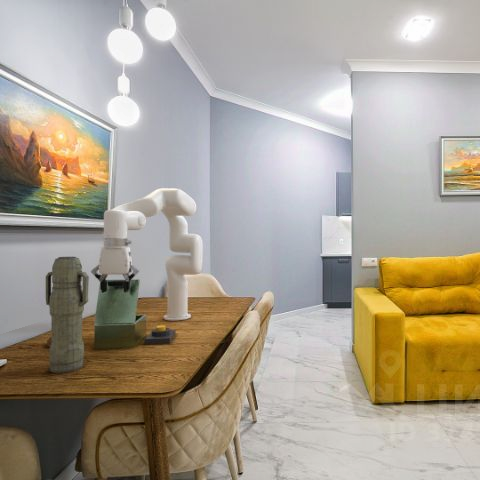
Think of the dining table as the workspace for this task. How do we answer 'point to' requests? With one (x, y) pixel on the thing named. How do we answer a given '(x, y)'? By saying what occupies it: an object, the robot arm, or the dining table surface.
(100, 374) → the dining table surface
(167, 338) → the control box
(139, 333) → the green box
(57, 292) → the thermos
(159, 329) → the button
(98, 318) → the lid
